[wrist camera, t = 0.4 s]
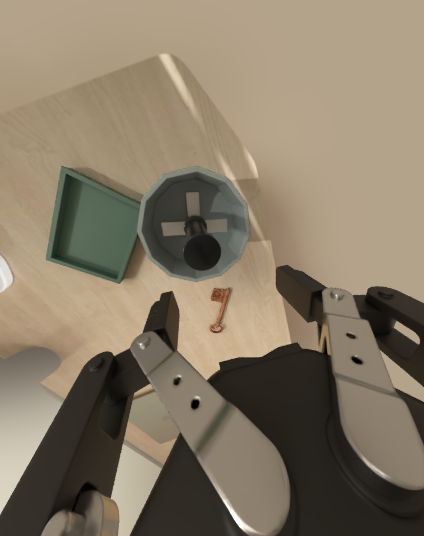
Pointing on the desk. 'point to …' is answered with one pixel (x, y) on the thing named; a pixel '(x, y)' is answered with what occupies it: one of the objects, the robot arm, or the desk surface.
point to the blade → (197, 235)
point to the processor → (175, 210)
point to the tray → (92, 227)
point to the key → (221, 307)
